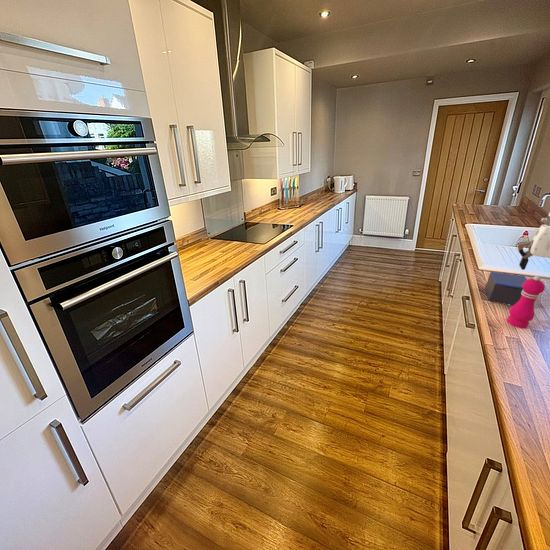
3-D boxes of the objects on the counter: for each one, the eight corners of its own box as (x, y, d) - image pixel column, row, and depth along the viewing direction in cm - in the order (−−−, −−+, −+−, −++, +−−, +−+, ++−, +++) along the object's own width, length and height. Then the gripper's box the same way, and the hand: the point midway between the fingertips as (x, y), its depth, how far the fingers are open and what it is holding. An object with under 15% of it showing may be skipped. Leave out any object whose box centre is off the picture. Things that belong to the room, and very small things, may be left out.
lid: (524, 277, 128) (524, 276, 127) (532, 290, 117) (532, 289, 116) (490, 273, 133) (490, 271, 133) (494, 284, 122) (495, 283, 122)
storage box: (515, 293, 132) (521, 278, 128) (521, 307, 121) (529, 291, 117) (484, 288, 136) (490, 273, 133) (488, 300, 125) (494, 285, 122)
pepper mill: (532, 330, 106) (555, 282, 97) (508, 326, 108) (529, 278, 100) (524, 320, 112) (546, 273, 104) (502, 316, 114) (521, 270, 106)
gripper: (530, 222, 94) (511, 270, 102) (602, 230, 87) (575, 280, 95) (525, 217, 100) (507, 262, 108) (591, 224, 93) (567, 272, 101)
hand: (539, 271), depth 101 cm, fingers open, 9 cm apart
